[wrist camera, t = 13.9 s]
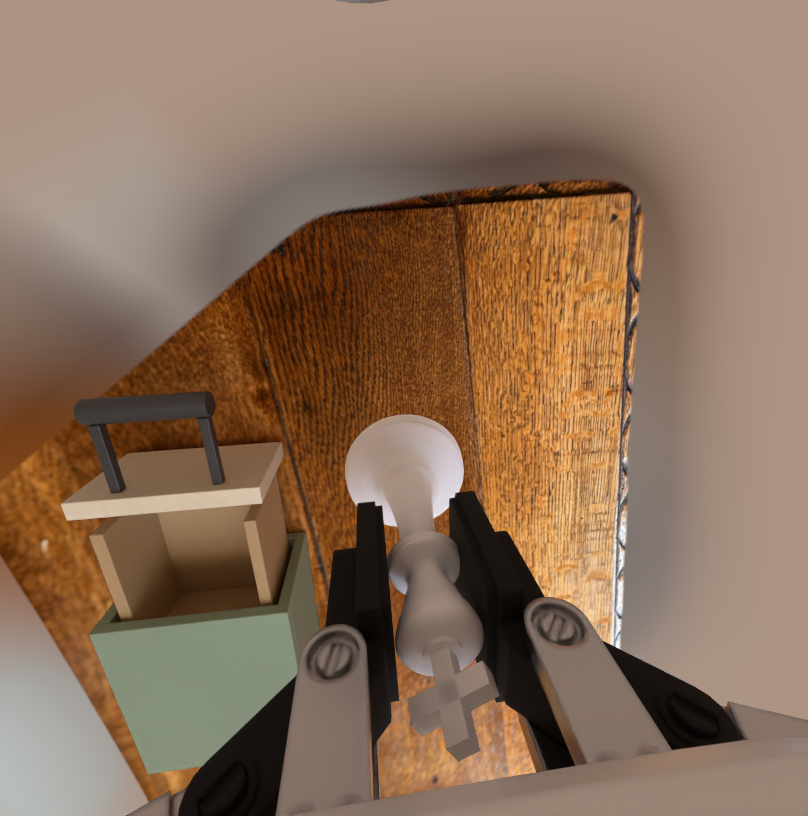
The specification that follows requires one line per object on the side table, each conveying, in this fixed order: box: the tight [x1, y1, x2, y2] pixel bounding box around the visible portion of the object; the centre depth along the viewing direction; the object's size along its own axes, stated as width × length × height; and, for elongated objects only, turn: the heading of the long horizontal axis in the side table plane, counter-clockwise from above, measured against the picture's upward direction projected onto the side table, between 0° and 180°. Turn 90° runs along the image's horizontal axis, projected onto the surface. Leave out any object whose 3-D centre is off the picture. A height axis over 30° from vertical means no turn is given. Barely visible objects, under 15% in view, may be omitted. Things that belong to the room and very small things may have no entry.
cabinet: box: [89, 532, 320, 774], centre depth 31 cm, size 15×13×9 cm
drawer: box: [61, 391, 291, 622], centre depth 27 cm, size 19×11×7 cm, turn 2°
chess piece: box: [345, 415, 499, 761], centre depth 11 cm, size 5×5×10 cm
